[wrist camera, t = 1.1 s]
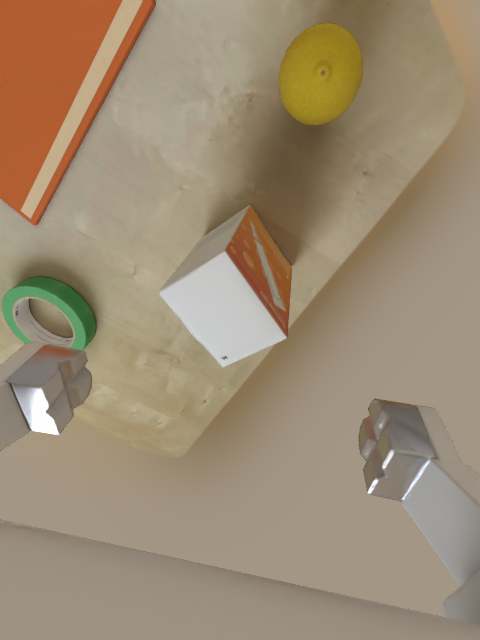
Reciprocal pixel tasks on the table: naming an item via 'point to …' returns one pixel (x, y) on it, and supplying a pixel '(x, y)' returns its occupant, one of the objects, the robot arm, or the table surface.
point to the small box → (233, 289)
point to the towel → (55, 86)
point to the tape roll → (59, 297)
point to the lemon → (320, 74)
